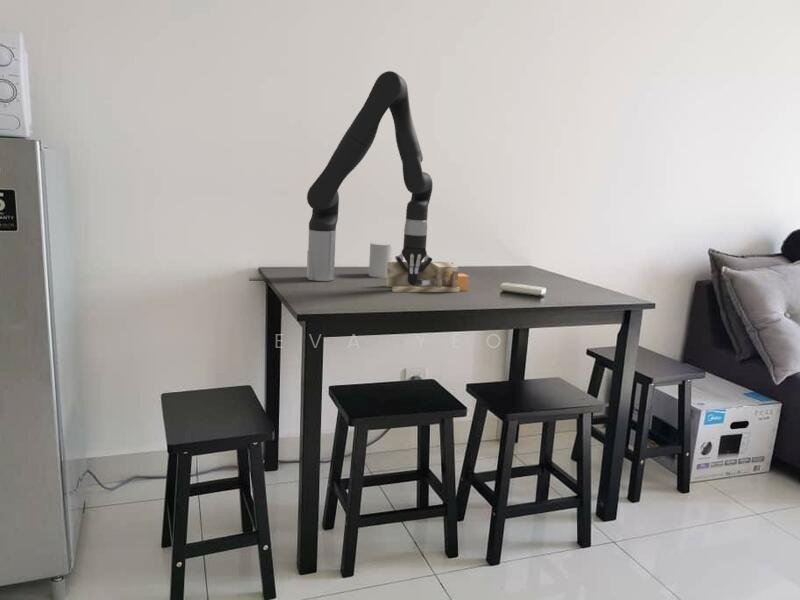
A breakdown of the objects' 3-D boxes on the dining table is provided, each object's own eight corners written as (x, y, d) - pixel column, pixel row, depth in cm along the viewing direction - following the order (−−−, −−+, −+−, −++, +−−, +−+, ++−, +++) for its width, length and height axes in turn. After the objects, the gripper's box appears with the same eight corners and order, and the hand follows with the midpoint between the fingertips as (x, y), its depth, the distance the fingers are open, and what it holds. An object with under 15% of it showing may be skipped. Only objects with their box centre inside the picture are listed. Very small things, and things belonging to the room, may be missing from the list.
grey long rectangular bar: (421, 290, 209) (422, 280, 209) (417, 289, 212) (417, 279, 211) (451, 289, 215) (452, 279, 214) (447, 287, 218) (447, 277, 217)
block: (453, 290, 213) (455, 276, 212) (449, 287, 218) (450, 273, 217) (467, 290, 214) (469, 276, 213) (462, 287, 219) (464, 273, 218)
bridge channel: (393, 291, 205) (394, 266, 204) (386, 285, 215) (387, 261, 213) (459, 291, 211) (461, 267, 210) (449, 286, 221) (451, 262, 219)
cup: (391, 274, 237) (393, 242, 234) (389, 278, 229) (391, 245, 226) (370, 272, 238) (372, 241, 235) (367, 276, 230) (368, 244, 227)
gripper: (398, 233, 203) (395, 286, 207) (437, 235, 206) (433, 286, 210) (393, 231, 210) (390, 281, 214) (431, 232, 213) (427, 282, 217)
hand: (412, 284), depth 212 cm, fingers closed
